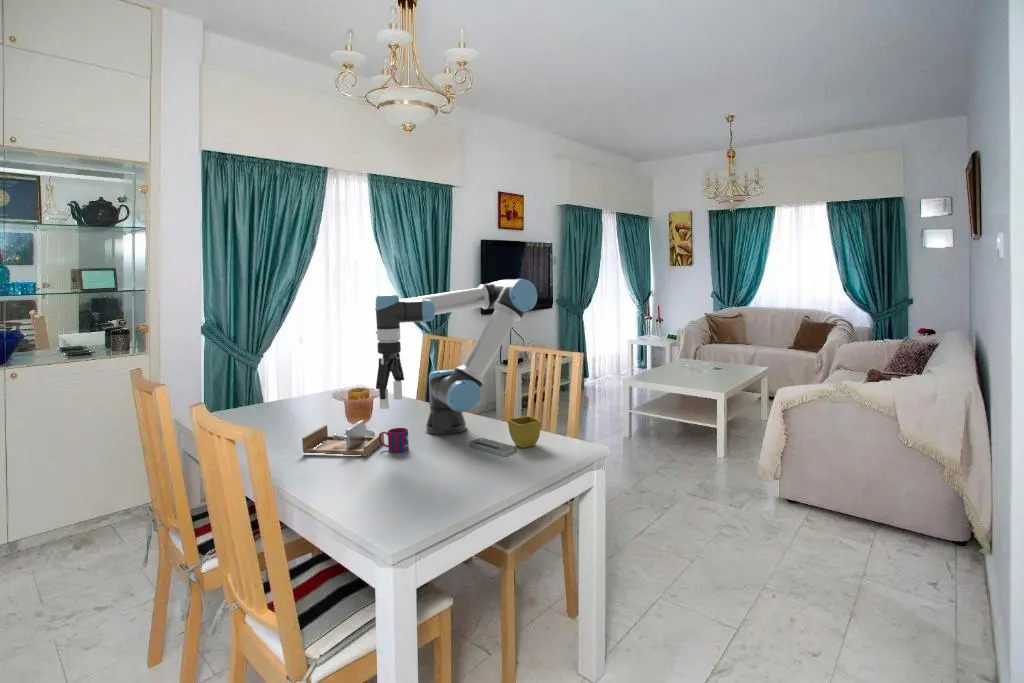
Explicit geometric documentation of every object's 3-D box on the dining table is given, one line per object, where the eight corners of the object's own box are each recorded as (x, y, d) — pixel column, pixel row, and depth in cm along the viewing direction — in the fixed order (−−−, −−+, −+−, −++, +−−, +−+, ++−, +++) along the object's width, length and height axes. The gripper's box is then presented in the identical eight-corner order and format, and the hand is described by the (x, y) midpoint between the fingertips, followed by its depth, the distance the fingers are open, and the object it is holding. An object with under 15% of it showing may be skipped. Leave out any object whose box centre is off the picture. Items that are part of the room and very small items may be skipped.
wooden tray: (384, 442, 193) (383, 425, 192) (366, 456, 177) (365, 439, 176) (325, 441, 195) (324, 425, 195) (303, 455, 180) (302, 438, 179)
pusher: (364, 440, 192) (363, 420, 191) (350, 451, 179) (349, 430, 179) (342, 439, 193) (341, 420, 192) (326, 450, 180) (325, 429, 180)
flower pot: (519, 451, 180) (518, 424, 179) (507, 444, 187) (506, 419, 186) (542, 446, 184) (541, 421, 183) (529, 440, 191) (529, 415, 190)
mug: (404, 453, 180) (403, 433, 179) (376, 452, 182) (375, 432, 181) (411, 447, 186) (410, 427, 186) (384, 446, 188) (383, 427, 187)
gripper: (390, 337, 192) (393, 395, 195) (363, 345, 168) (366, 412, 170) (411, 337, 192) (413, 395, 194) (386, 345, 167) (389, 412, 169)
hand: (391, 403), depth 182 cm, fingers open, 13 cm apart
